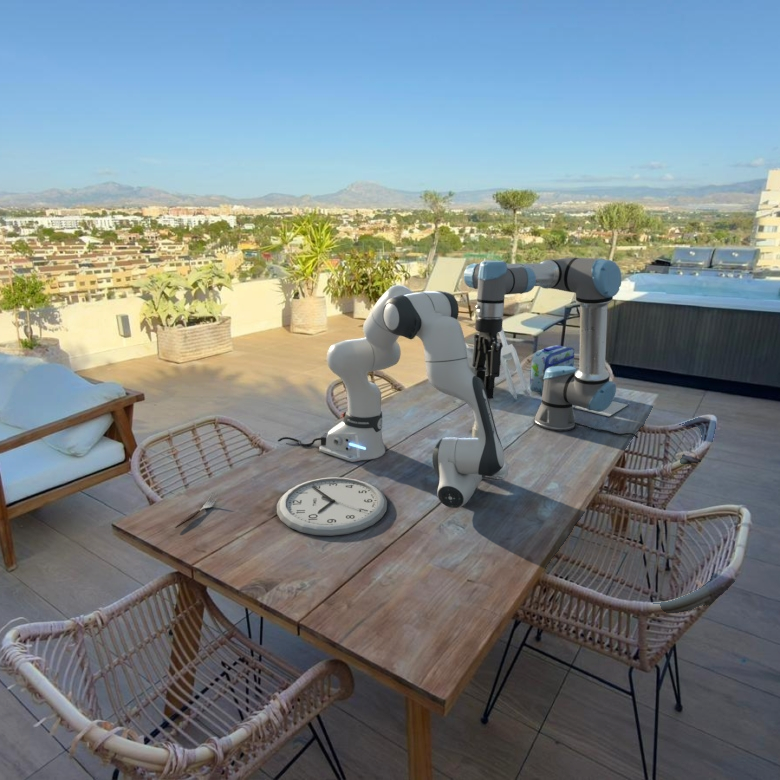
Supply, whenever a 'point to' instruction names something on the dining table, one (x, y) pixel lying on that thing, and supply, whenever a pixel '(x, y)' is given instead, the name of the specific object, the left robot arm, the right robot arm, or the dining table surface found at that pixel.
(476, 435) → the white tall cylinder
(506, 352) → the white plastic object
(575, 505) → the dining table surface
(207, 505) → the fork
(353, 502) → the wall clock
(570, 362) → the lunch box
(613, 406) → the invitation card
